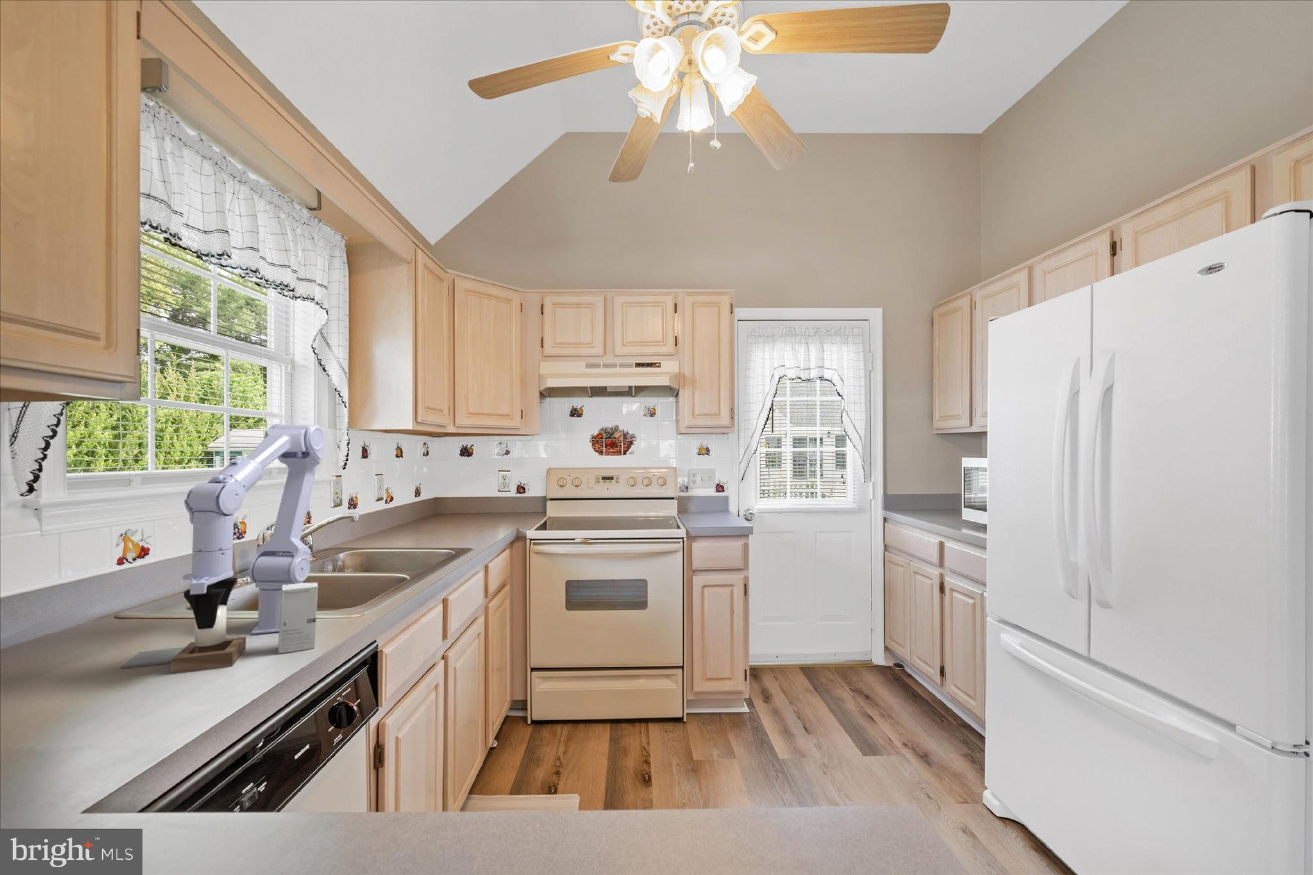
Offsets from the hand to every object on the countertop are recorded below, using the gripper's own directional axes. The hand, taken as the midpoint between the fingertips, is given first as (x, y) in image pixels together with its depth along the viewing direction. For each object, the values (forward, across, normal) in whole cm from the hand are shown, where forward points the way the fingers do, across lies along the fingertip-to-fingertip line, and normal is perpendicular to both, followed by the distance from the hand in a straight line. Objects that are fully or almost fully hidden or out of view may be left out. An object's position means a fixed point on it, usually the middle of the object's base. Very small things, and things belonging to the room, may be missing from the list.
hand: (210, 623), depth 98 cm
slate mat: (+7, -5, -9) cm, 13 cm away
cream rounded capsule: (+3, 0, 0) cm, 3 cm away
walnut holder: (+7, 0, 0) cm, 7 cm away
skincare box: (+7, -2, +13) cm, 15 cm away
